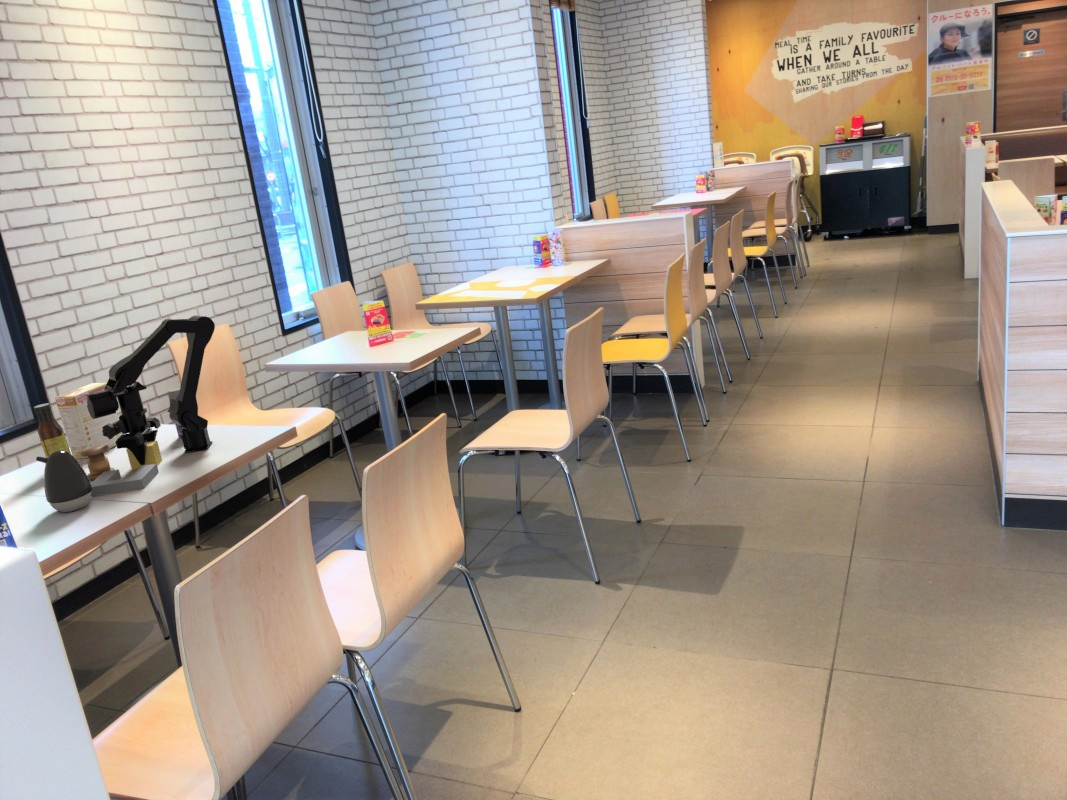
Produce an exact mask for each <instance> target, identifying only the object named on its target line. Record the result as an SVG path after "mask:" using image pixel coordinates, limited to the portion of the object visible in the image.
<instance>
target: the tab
mask: <svg viewBox="0 0 1067 800" xmlns="http://www.w3.org/2000/svg"><path fill="white" fill-rule="evenodd" d="M125 449H126V454H127V457H128V461H129V464H130V468H131V470H138V469H139V468H140V467H141V466H145V465H151V464H157V466H159V464H160V463H161V462H162V461H163V457H162V455H161V453H162V452H161V450H160V445H159V442H158V440H155V441H152V442H147V447H146V459H145V464H144V465H140V463H139V462H138V460H137V459H136V458H135V456H134V455H133V453H132V452H131V451H130V450H129V449H127V448H125Z"/></svg>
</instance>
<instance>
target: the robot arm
mask: <svg viewBox="0 0 1067 800" xmlns="http://www.w3.org/2000/svg"><path fill="white" fill-rule="evenodd" d="M215 326H216V325H215V322H214V321H213V319H211V318H210V316H209V317H208V316H205V315H196V314H195V315H193V316H190V317H189V318H178V319H177V318H176V319H172V318H165V319H164V320H162V321H161V323H160V324H159V326H157V328H156V329H155V330H153V332H152V333H151V334H150V335H148V337H147V338H146V339H145V340H144V341H143V342H142V343H140V345H139V346H138V347H137V348H136V349H135V350H133V352H132V353H131V354H129V355H127V356H126V357H123V358H122V359H120V360H119V361H117V362H116V363H115V364H113V365H112V366H111V367H110V369H109V370H108V377H109V378H108V379H107V384H106V386H105V389H104V390H105V391H101V392H98V393H91V394H87V408H88V411H89V414H90V416H91V417H92V418H93V419H96V418H100V417H104V416H107V415H111V414H114V413H116V411H117V412H118V410H119V409H120V412H121V413H120V415H119V416H118V417H119V420H118V421H116V422H114V423H112V424H110V423H108V424H107V425H105V426H103V427H102V428H103V431H102V432H103V436H106V437H108V439H112V438H113V437H114V436H116V435H118V434H119V433H121V432H122V435H121V436H120V437H119V438H118V439H117V440H116V442H115V443H116V449H129V450H130V451H131V452H132V453H133V455H134V456H135V458H136V459H137V460H138V462H139V463H140V465H144V464H145V459H146V447H147V442H152V441H156V439H157V435H158V431H159V430H158V429H159V428H160V427H161V422H160V419H159V418H157V417H150V418H147V416H146V413H147V412H148V410H147V409H148V408H146V407H144V405H143V401H142V397H141V393H140V391H144V390H146V389H147V386H146V385H144V384H143V383H140V381H138V379H139V378H140V376H141V375H142V373H143V371H144V368H145V366H146V365H147V363H148V362H149V361H150V360H151V359H152V358H153V357H154V356H155V354H157V352H159V350H161V348H163V346H164V345H166V343H167V342H169V340H170V339H171V338H172V337H173V336H174V335H175V334H185V335H186V342H187V349H186V356H185V360H184V366H183V371H182V377H181V381H180V387H179V388H180V392H179V394H178V396H177V398H176V399H172V398H171V399H170V401H169V408H168V409H167V413H169V415H168V416H169V419H170V421H171V422H173V423H174V424H175V423H176V424H178V425H179V426H180V428H183V430H182V434H183V435H182V436H181V438H180V439H181V441H182V445H183V449H184V453H190V452H197V451H204V450H208V449H209V448H210V447H211V445H212V444H213V441H212V440H211V439H210V435H209V431H208V424H209V423H208V422H209V420H208V419H205V418H204V417H202V416H200V415H199V405H198V401H197V399H198V398H197V394H198V387H199V382H200V376H201V371H202V365H203V361H204V356H205V355H204V354H205V350H206V347H207V346H208V344H209V343H210V341H211V339H212V337H213V334H214V333H215V330H216V329H215V328H216V327H215ZM153 428H154V429H153Z"/></svg>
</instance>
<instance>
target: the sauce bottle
mask: <svg viewBox="0 0 1067 800" xmlns="http://www.w3.org/2000/svg"><path fill="white" fill-rule="evenodd" d="M33 410H34V413H36V416H37V419H38V427H37V433H38V437H39V439H40V440H39V441H40V445H41V447H42V449H43V453H44V455H45V458H48V457H49V455H50V454H51V453H52V452H54V451H57V450H64V451H67V452H69V453H70V454H71V455H72V453H71V449H70V446H69V443H68V439H67V436H66V433H65V430H64V428H62V426H61V425H60V423H59V422H58V421H57V420H56V419H55V417H54V415H53V412H52V407H51V403H48V402H47V403H42V404H38V405H35V406H34V407H33Z"/></svg>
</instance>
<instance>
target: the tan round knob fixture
mask: <svg viewBox="0 0 1067 800" xmlns="http://www.w3.org/2000/svg"><path fill="white" fill-rule="evenodd" d="M109 450H110V449H109V447H108V445H107V444H100V445H94V446H90V447H87V448H85V449H83V450H81V451H80V454H81V456H83V457H87V456H88V458H87V459H88V461H87V462H86V465H87V468H88V471H89V473H87V476H88V478H89V480H90V482H93V481H94V480H95V479H96V478H97V477H99V476H100V475H101V474H102V473H103V472H106V471H112V470H116V469H115V468H114V467H111V465H110V461H109V458H108V456H105V453H106V452H107V451H109Z"/></svg>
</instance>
